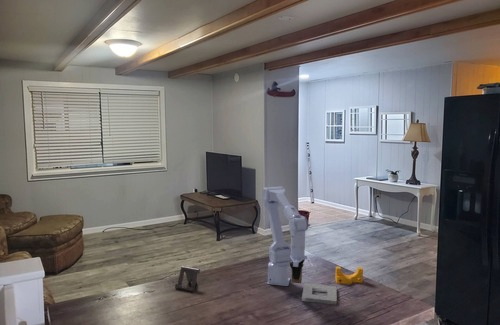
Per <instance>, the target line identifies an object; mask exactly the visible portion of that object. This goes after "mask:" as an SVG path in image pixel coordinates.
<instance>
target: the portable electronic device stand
mask: <svg viewBox="0 0 500 325" xmlns="http://www.w3.org/2000/svg"><path fill="white" fill-rule="evenodd" d="M200 273H201V269H200V268H196V267H195V268H194V267H190V266H184V265H182V266H181V267H180V271H179V276H178V281H177V283H175V285H174V288H175V289H177V290H182V291H188V292H192V293H193V292H194V291H195V288H196V285H198V281H197V279H198V275H199V274H200ZM184 275H185V277H186V279H187V283H188V284H190V286H187V285H186V286H183V280H184Z"/></svg>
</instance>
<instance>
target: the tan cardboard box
mask: <svg viewBox="0 0 500 325" xmlns="http://www.w3.org/2000/svg"><path fill="white" fill-rule="evenodd" d="M290 281H291V283H292V284H302V281H303V268H302V269H301V272H300V277H299V280H296V279H294V278H293V272H292V271H291V279H290Z"/></svg>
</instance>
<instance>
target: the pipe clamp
mask: <svg viewBox="0 0 500 325" xmlns="http://www.w3.org/2000/svg"><path fill="white" fill-rule="evenodd" d="M363 278H364V269H363V267H362V266H357V269H356V270H355V272H354V273H352V274H350V275H349V274H344V272H342V268H341V266H335V277H334V280H335V282H336V284H343V285H345V284H346V285H350V284H351V285H352V283H364V282H363V280H364V279H363Z"/></svg>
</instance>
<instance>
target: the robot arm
mask: <svg viewBox="0 0 500 325" xmlns="http://www.w3.org/2000/svg"><path fill="white" fill-rule="evenodd" d="M286 196H287V192H286V188H284V186H281V185H280V186H269V187H267V186H266V187H263V189H262V193H261V197H262V203H263V206H264V207H266V211H267V215H268V220H269V226H270V231H271V236H272V241H273V242H272V243H271V245H270V246H269V248H268V254H269V255H268V257H269V262H268V265H267V285H272V286H273V285H274V286H284V287H288V286H289V284H290V281H291V278H290V277H289V276H290V275H289V273H290V272H289V270H290V269H291V273H292V272H293V278H294V279H296V280H299V277H300V272H301V269H302V270H303V267H304V265H305V264H304V262H305V260H307V259H308V256H307V255H305V253H306V252H305V249H306V247H305V246H306V232H307V230H308V229H309V221H308V219H307V216H303V215H301V214H300V212H299V211H298V210H297V208H296V206H294V205H291V203H290V201H289V199H288V198H287V197H286ZM279 207H281V209H282V210H283V212H282V214H283V215H284V217H285V218H286V220H287V221H288V228H289V234H290V236H291V237H290V243H288V242H287V241H285V238H284V234H283V227H282V224H281V218H280V214H279Z"/></svg>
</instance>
